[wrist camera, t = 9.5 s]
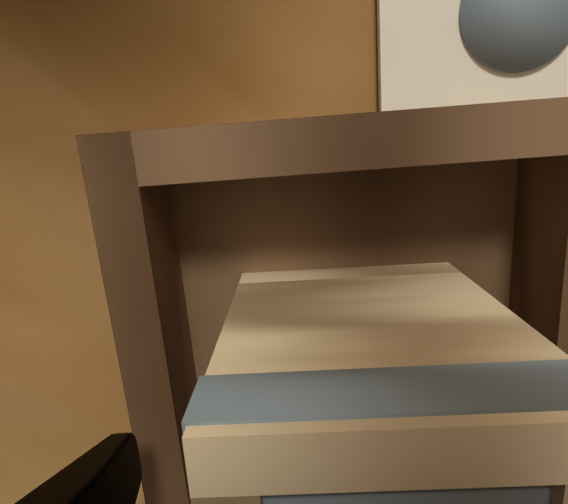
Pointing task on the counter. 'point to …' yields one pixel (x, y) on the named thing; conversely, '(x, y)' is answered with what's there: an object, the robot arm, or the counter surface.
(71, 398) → the counter surface
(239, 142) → the open box
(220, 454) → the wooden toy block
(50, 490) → the robot arm
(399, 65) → the card
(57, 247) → the counter surface
